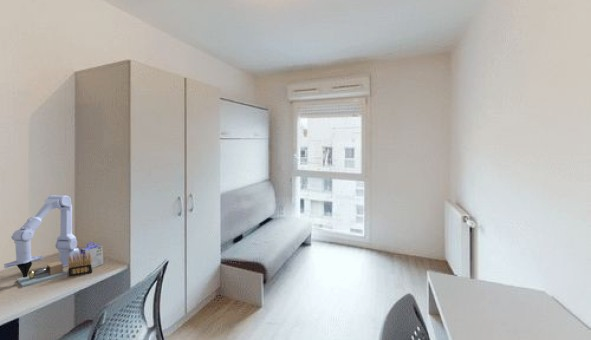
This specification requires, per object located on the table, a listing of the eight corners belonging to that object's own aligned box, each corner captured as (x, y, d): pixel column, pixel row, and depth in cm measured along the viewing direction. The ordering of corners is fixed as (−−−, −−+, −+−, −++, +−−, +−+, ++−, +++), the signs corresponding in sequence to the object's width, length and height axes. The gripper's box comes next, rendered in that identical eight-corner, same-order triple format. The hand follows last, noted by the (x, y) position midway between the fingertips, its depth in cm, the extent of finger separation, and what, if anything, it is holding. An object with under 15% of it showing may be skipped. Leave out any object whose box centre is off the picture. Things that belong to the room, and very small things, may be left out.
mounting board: (60, 269, 162) (59, 259, 161) (66, 274, 155) (66, 264, 154) (17, 280, 147) (16, 269, 147) (22, 287, 140) (22, 276, 140)
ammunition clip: (68, 277, 152) (67, 256, 152) (68, 275, 154) (68, 255, 153) (91, 272, 158) (91, 252, 157) (92, 271, 160) (91, 251, 159)
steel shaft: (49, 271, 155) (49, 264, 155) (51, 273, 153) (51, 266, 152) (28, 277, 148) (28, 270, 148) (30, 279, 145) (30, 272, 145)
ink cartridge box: (98, 262, 172) (97, 240, 171) (103, 264, 170) (103, 241, 169) (80, 268, 163) (79, 245, 162) (86, 270, 161) (85, 246, 160)
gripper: (5, 258, 136) (6, 284, 137) (43, 249, 148) (45, 273, 149) (2, 254, 140) (4, 280, 141) (40, 246, 152) (41, 270, 153)
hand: (25, 276), depth 145 cm, fingers closed
